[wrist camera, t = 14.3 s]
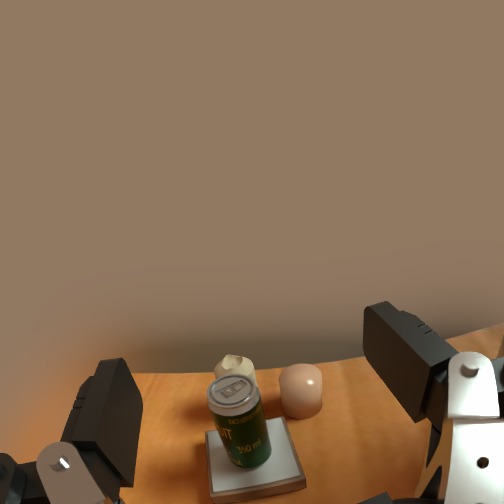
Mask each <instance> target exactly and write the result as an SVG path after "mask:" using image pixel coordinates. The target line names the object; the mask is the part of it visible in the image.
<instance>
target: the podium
mask: <svg viewBox="0 0 504 504" xmlns="http://www.w3.org/2000/svg"><path fill="white" fill-rule="evenodd" d="M266 424H267V429H268V434H269V438H270V443H271V447H272V451H271V455H270V457H269V459H268V460H267V462H265V463H264V464H263V465H262V466H260V467H258V468H254V469H243V468H240V467H238V466H236V465H234V464H233V463H232V462H231V461H230V459H229V458H228V456H227V453H226V451H225V448H224V446H223V444H222V441H221V439H220V436H219V434H218V431H217V430H211V431H205V442H206V455H207V467H208V478H209V488H210V497H211V499H212V500H213V502H214V503H215V504H228V503H235V502H242V501H248V500H253V499H259V498H264V497H269V496H273V495H278V494H282V493H286V492H291V491H295V490H298V489H302V488H306V478H305V475H304V472H303V469H302V467H301V464H300V461H299V458H298V455H297V452H296V449H295V447H294V444H293V441H292V438H291V435H290V432H289V429H288V426H287V423H286V421H285V418H284V416H281V417H277V418H273V419H268V420H266Z"/></svg>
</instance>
